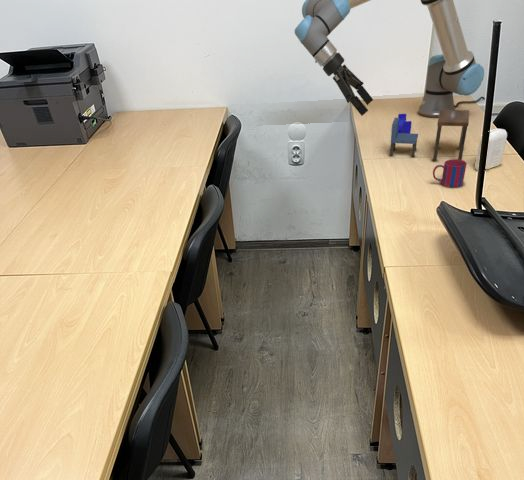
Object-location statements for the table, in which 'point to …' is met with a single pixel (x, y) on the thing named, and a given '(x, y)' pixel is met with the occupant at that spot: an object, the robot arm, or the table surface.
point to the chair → (402, 138)
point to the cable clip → (404, 124)
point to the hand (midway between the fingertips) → (367, 107)
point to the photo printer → (494, 148)
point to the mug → (452, 173)
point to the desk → (452, 120)
